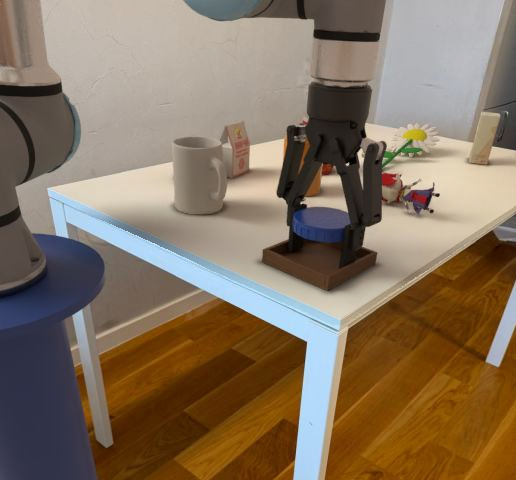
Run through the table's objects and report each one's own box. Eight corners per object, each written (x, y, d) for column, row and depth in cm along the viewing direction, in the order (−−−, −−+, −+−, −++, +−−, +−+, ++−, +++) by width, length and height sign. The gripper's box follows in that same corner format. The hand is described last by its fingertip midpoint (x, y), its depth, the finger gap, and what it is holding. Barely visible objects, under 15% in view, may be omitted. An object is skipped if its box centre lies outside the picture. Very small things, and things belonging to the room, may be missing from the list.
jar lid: (366, 231, 70) (368, 218, 69) (329, 248, 64) (331, 234, 63) (317, 215, 75) (319, 202, 73) (279, 228, 69) (280, 215, 68)
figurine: (418, 220, 87) (355, 197, 96) (445, 222, 92) (383, 199, 102) (431, 183, 84) (365, 162, 94) (458, 186, 89) (393, 166, 99)
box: (486, 165, 123) (501, 116, 117) (468, 163, 124) (481, 114, 118) (486, 160, 127) (500, 112, 121) (468, 158, 128) (481, 111, 122)
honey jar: (272, 189, 100) (276, 127, 94) (297, 182, 105) (302, 122, 98) (303, 199, 96) (309, 134, 89) (327, 191, 101) (335, 129, 94)
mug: (165, 204, 90) (161, 139, 84) (204, 195, 95) (203, 134, 89) (204, 224, 83) (202, 155, 77) (244, 214, 88) (246, 149, 81)
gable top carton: (217, 174, 107) (217, 124, 101) (234, 168, 112) (235, 119, 106) (232, 178, 105) (232, 127, 100) (249, 171, 110) (250, 122, 104)
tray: (261, 262, 72) (262, 249, 71) (312, 241, 79) (313, 228, 78) (327, 291, 66) (329, 277, 64) (375, 265, 73) (378, 252, 72)
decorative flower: (404, 186, 113) (444, 144, 132) (406, 164, 110) (447, 124, 128) (351, 178, 119) (397, 139, 137) (352, 157, 116) (399, 120, 134)
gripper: (438, 91, 56) (398, 275, 68) (292, 70, 67) (281, 231, 80) (404, 97, 51) (368, 293, 64) (253, 73, 63) (248, 243, 75)
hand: (319, 258), depth 72 cm, fingers closed on jar lid, 8 cm apart
